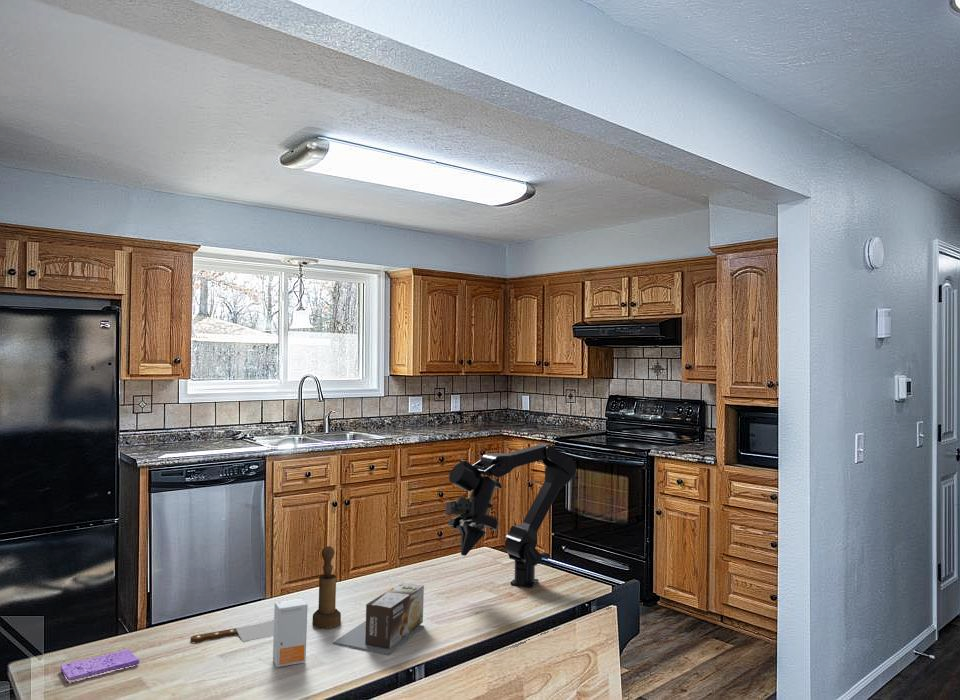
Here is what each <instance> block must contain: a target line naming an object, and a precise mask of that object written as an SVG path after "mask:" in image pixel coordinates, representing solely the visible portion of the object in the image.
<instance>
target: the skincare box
mask: <svg viewBox="0 0 960 700" xmlns="http://www.w3.org/2000/svg"><path fill="white" fill-rule="evenodd" d="M308 607H309V605H308V603H307V602H306V601H305V599H304V598H297V599H288V600H285V601H284V600H283V601H275V602H274V609H273V611H274V615H273V618H274V619H273V620H274V636H273V642H272V643H273V645H272V647H273V648H272V660H273V662H274V665H275V667H276V668H281V667H287V666H291V665H293V666H294V665H297V664H305V663H306V662H307V661H306V660H307V659H306V658H307V633H308V627H307V626H308Z"/></svg>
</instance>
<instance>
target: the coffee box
mask: <svg viewBox="0 0 960 700" xmlns="http://www.w3.org/2000/svg"><path fill="white" fill-rule="evenodd" d="M424 590H425V586H424V585H423V584H418V583H412V582H404V581H403V582H399V584H397V585H395V586H394V587H392V588H391V589H389V590H387V591H386V592H384V593H383V594H381V595H379V596H378V597H376V598H374V599H372V600H371V601H370V602H367V603H366V605H365V621H366V635H365V644H366V645H370V646H375V647H380V648H381V647H384V648H391V647H392V646H394V645H395V644H396V643H397V642H399V641H400V640H401V639H402V638H404V637H405V636H406V635H408V634H409V633H410V632H411V631H413V630H414V629H415V628H416V627H418V626H419V625H422V624H423V622H424V597H425V596H424V595H425V594H424V593H425V591H424Z"/></svg>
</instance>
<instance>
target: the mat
mask: <svg viewBox="0 0 960 700" xmlns="http://www.w3.org/2000/svg"><path fill="white" fill-rule="evenodd" d="M424 628H425V625H422V624H420V625H419V626H418V627H416V628H415V629H414V630H413V631H411V632H410V633H409V634H408V635H406V636H405V637H404V638H402V639H401V640H400V641H399V642H397V643H396V644H395V645H394V646H392V647H391V648H384V647H381V648H380V647H375V646H370V645H366V644H365V635H366V620H365V621H363V622H362V623H360V624H359V625H357V626H355V627H354V628H352V629H351V630H349V631H348V632H346V633H345V634H343V635H342V636H340V637H339V638H337V639H335V640H334V641H333V642H332V644H333V645H337V646H340V647H341V646H342V647H347V648H352V649H357V650H361V651H367V652H371V653H376V654H382V655H385V656H390V655H391V654H393V652H394V651H396V650H397V649H399V648H400V647H401V646H403V645H404V644H405V643H406V642H408V641H409V640H410V639H412V638H413V637H414V636H416V635H417V634H419V633H420V632H421V631H422V630H424ZM420 630H421V631H420ZM416 633H417V634H416Z"/></svg>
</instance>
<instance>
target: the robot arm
mask: <svg viewBox="0 0 960 700" xmlns="http://www.w3.org/2000/svg"><path fill="white" fill-rule="evenodd" d="M539 461H541V464H542V465H544V466H545V470H544V482H542V483H543V484H542V485H541V487H540V489H539V491H538V493H537V494H536V497H535V498H534V500H533V502H532V504H531V505H530V507H529V509H528V512H527V513H526V515H525V517H524V518H523V521H522V522H521V523H520V524H519V525H518V526H517V525H514V524H513V525H512V526H511V527H510V529H509V532H508V533H507V534H506V535H505V541H504V547H505V548H504V549H505V551H506V552H507V554H508V558H509V559H510V560H513V561H514V579H512V580H511V581H510V583H509V584H510V585H513V586H518V587H519V586H520V587H527V588H533V587H534V586H535V585H536V584H538V582H539V578H536V575H535V574H536V573H535V572H536V566H537V565H538V564H539V565H540V564H541V562H542V559H543V555H542V554H541V553H540V552H539V551H538V550H537V549H536V548H537V546H538V532H539V529H540V528H541V526H542V524H543V522H544V520H545V519H546V516H547V514H548V512H549V510H550V508H551V507H552V505H553V503H554V501H555V499H556V497H557V496H558V493H559V491H560V490H561V489H562V488H563V487H564V486H566V485H568V484H569V482H571V480H572V479H573V478H574V476H575V474H576V472H577V466H576V461H575V460H574V459H573V458H570V457H568V456H567V455H565V454H563V453H562V452H561V451H558V450H557V449H556V448H555V447H554V446H552V445H551V444H546V443H538V444H537V445H533V446H529V447H526V448H522V449H518V450H514V451H511V452H504V453H503V452H501V453H500V452H499V453H498V452H490V453H485V454H483V455H482V456H481V458H480V460H478V461H476V462H475V463H474V464H471V463H470V462H469V461H467V460H464V459H460V461H459V463H457V464H456V465H455V466H453V468H452V469H451V470H450V472H449V476H448V480H449V483H451V484H453V485H455V486H456V487H459V488H460V489H462V490H463V491H465V492H470V491H471V493H470V495H469V498H467V497H466V496H460V497H457V499H456V500H453V501H448V502H445V515H446V516H450V515H459V516H454V517H452V518H450V519H449V522H448V525H447V526H448V527H450V528H452V529H454V530H456V531H459V532H460V539H461V541H460V555H461V556H463V557H466V556H467V555H468V554H469V552H471V550H472V549H473V548H474V547H475V546H476V544H477V543H478V542H479V541H480V540H481V539H482V538H483V536H485V535H486V533H487V532H486V531H485V527H488V528H489V530H490V531H493V532H495V531H498V527H499V524H500V523H499V521H498V518H497V517H494V516H492V515H489V514H488V512H489V510H490V509H492V508H493V504H491V502H492V499H493V496H494V492H495V489H502V488H503V486H502V483H500V479H499V478H502V477H504V476H506V475H507V474H510V473H511V472H512V471H513V470H514V469H515V468H519V467H521V466H522V467H523V466H526V465H528V464H532V463H536V462H539ZM492 476H493V477H497V478H491V477H492Z"/></svg>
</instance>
